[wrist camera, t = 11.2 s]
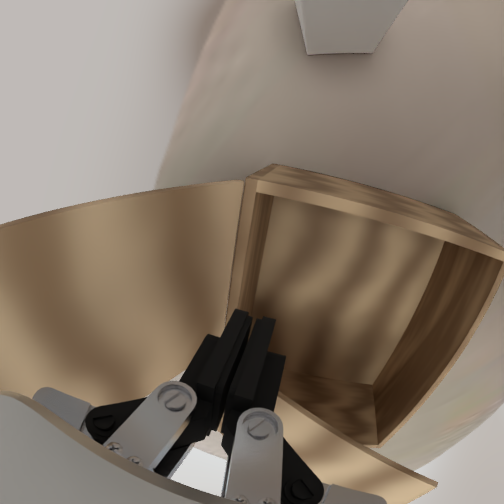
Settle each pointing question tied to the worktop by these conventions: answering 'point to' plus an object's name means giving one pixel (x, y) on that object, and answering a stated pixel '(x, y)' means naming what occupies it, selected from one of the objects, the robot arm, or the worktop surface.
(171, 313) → the flap
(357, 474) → the flap
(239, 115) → the worktop surface
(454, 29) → the worktop surface
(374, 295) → the carton
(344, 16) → the milk carton
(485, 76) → the worktop surface
